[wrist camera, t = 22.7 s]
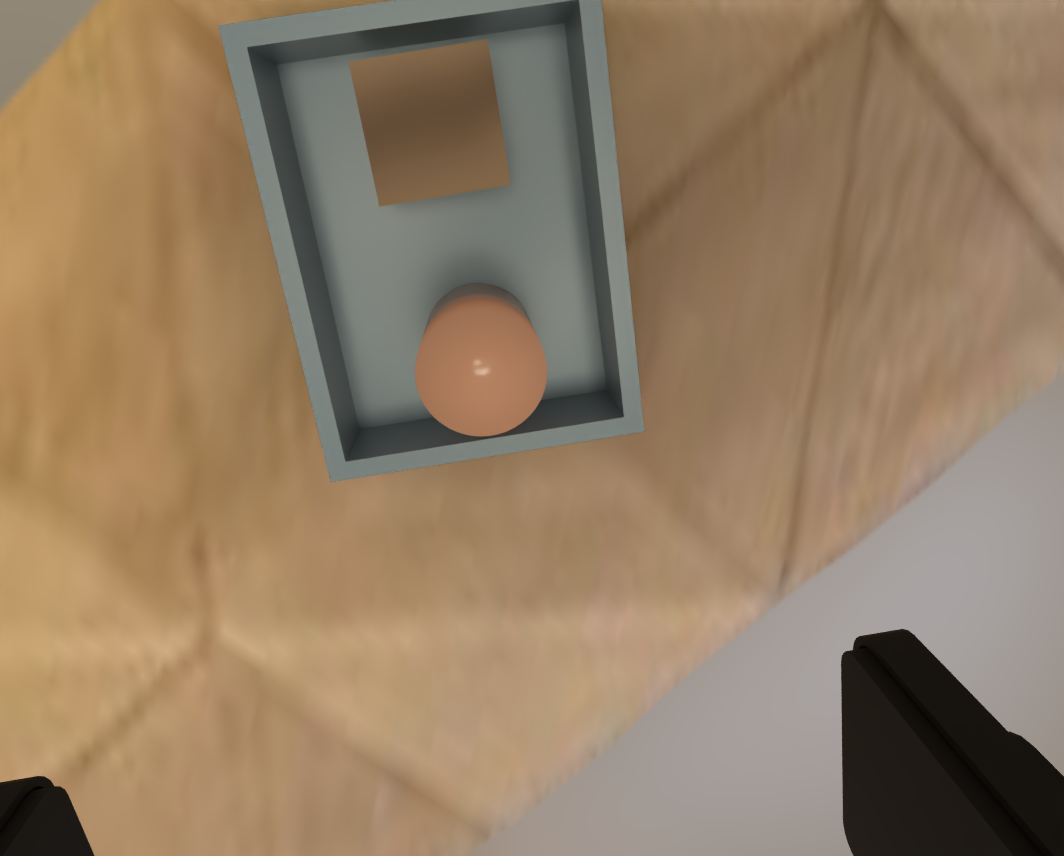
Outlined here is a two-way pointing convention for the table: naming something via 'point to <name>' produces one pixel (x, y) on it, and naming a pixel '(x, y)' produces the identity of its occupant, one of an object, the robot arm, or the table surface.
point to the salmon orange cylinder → (480, 361)
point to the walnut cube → (431, 122)
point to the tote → (442, 224)
